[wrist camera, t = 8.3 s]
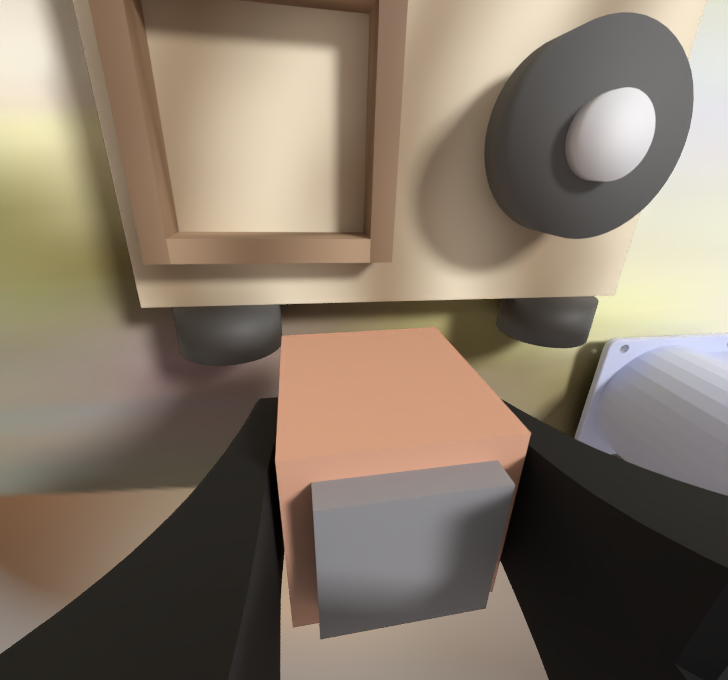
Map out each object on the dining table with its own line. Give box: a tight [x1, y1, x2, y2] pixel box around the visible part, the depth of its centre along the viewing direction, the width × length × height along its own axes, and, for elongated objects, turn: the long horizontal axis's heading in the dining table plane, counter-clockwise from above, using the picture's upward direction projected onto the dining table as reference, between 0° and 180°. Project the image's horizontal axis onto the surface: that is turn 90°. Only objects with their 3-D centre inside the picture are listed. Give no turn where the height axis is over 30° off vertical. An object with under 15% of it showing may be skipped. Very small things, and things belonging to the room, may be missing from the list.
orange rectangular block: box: [275, 327, 531, 639], centre depth 9 cm, size 4×4×6 cm
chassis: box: [73, 0, 707, 366], centre depth 14 cm, size 20×16×4 cm
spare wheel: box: [484, 12, 693, 239], centre depth 12 cm, size 6×6×2 cm
